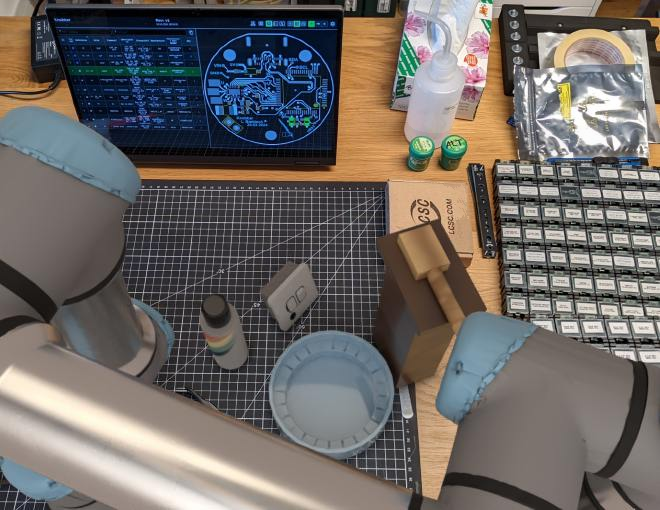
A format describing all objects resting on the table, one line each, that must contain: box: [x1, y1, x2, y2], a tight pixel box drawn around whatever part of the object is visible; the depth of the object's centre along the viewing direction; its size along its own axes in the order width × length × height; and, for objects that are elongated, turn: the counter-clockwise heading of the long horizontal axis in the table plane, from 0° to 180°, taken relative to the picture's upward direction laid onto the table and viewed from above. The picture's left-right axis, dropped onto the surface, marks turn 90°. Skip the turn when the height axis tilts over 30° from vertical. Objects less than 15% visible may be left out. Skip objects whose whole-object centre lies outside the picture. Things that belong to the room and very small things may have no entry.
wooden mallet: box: [397, 225, 466, 337], centre depth 75 cm, size 4×22×2 cm, turn 20°
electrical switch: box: [258, 260, 320, 332], centre depth 105 cm, size 9×5×9 cm, turn 141°
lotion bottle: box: [199, 292, 249, 370], centre depth 95 cm, size 6×6×20 cm
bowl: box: [268, 329, 395, 461], centre depth 98 cm, size 19×19×6 cm
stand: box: [372, 218, 488, 390], centre depth 91 cm, size 9×14×30 cm, turn 20°
